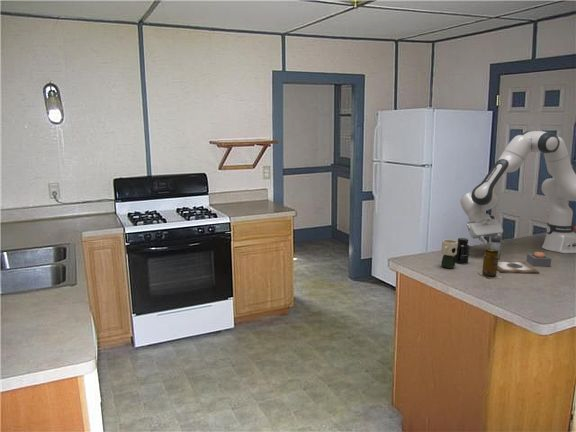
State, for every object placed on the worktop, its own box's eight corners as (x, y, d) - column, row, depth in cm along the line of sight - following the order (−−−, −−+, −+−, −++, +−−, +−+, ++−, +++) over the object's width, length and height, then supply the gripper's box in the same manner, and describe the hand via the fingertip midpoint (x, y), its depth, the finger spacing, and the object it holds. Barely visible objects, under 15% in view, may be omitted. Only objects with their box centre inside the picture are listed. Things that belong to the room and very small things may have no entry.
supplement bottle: (463, 265, 234) (465, 241, 232) (450, 261, 239) (452, 238, 237) (470, 262, 239) (473, 239, 236) (458, 259, 244) (460, 236, 241)
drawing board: (523, 263, 238) (524, 261, 238) (539, 273, 222) (539, 271, 222) (487, 262, 239) (487, 260, 238) (499, 272, 223) (500, 270, 223)
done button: (541, 257, 239) (541, 252, 239) (545, 259, 235) (546, 254, 234) (532, 256, 239) (532, 251, 239) (536, 259, 235) (537, 254, 234)
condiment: (491, 272, 224) (493, 247, 222) (503, 277, 216) (505, 252, 214) (477, 273, 222) (479, 248, 220) (489, 279, 214) (491, 253, 212)
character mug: (450, 271, 224) (452, 244, 222) (436, 268, 229) (438, 241, 226) (459, 266, 232) (461, 240, 230) (445, 263, 237) (447, 237, 234)
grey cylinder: (496, 257, 247) (499, 235, 245) (500, 260, 243) (502, 237, 240) (487, 257, 248) (490, 235, 245) (491, 260, 243) (493, 237, 241)
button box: (542, 261, 241) (543, 254, 241) (550, 266, 234) (551, 258, 233) (526, 261, 242) (527, 253, 241) (533, 266, 234) (534, 258, 233)
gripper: (468, 218, 245) (482, 241, 238) (497, 215, 253) (511, 238, 247) (461, 225, 250) (474, 248, 243) (489, 222, 258) (502, 244, 252)
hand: (493, 243), depth 245 cm, fingers open, 8 cm apart
